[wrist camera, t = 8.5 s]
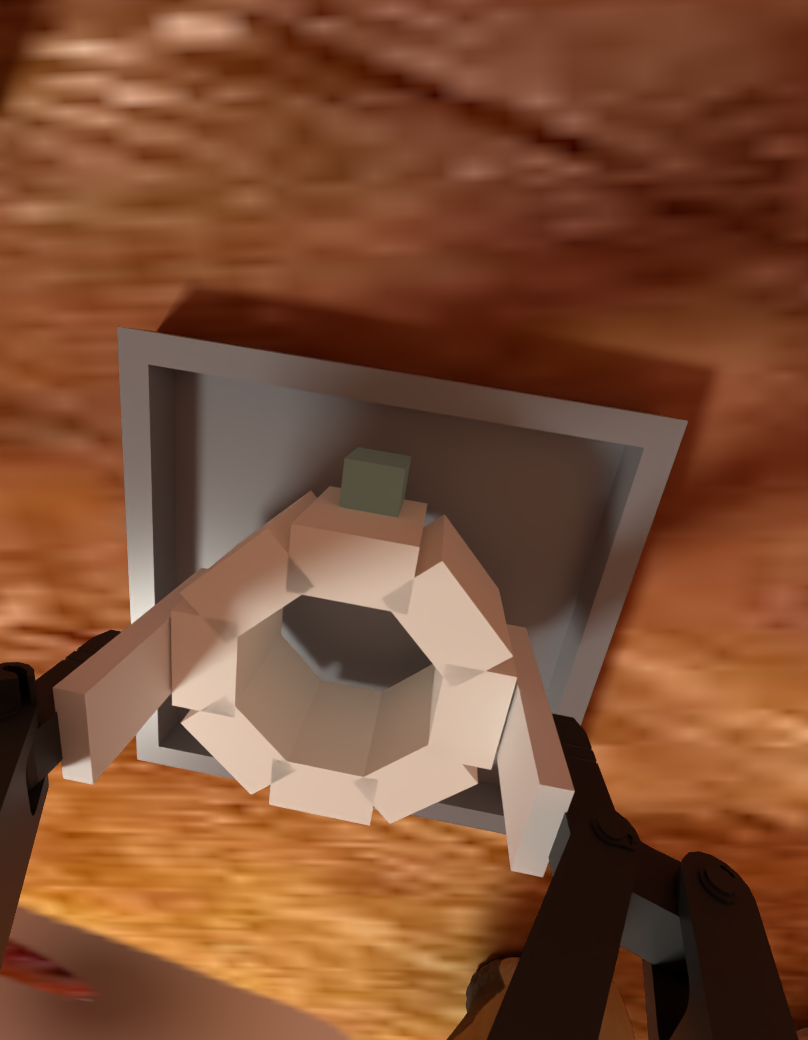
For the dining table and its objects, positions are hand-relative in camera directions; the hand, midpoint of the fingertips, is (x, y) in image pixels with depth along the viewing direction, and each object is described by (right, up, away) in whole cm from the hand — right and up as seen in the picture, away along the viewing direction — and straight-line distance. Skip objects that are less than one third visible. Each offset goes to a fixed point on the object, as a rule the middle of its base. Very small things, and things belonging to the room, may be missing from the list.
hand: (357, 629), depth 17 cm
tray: (0, +1, +2) cm, 3 cm away
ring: (0, 0, +1) cm, 1 cm away
